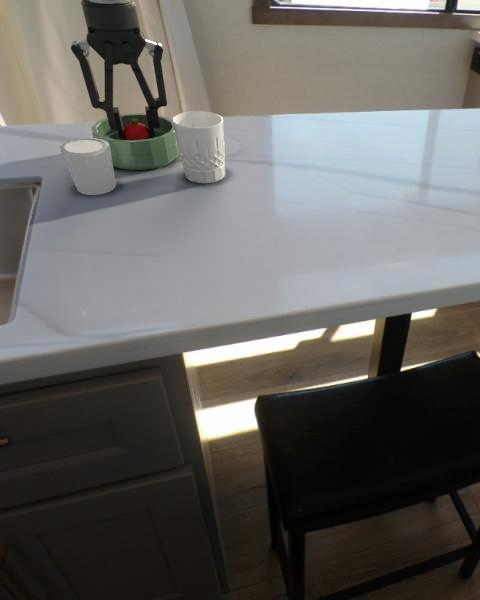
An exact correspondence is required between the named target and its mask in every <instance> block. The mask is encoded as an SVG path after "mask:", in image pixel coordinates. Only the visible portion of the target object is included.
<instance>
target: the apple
mask: <svg viewBox="0 0 480 600" xmlns="http://www.w3.org/2000/svg"><path fill="white" fill-rule="evenodd" d="M131 122H132V123H130V124H128V125H127V126H126V127H125V129H124V137H125V140H145V139H151V136H150V131H149V129H148V128H147V127H146V126H145V125H144V124H142V123H138V120H137V119H131Z"/></svg>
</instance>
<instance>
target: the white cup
mask: <svg viewBox="0 0 480 600" xmlns="http://www.w3.org/2000/svg"><path fill="white" fill-rule="evenodd" d="M171 120H172V122H173V126H174V131H175V135H176V140H177V144H178V149H179V153H180V155H179V157H180V161H181V163H182V166H183V170H184V175H185V178H186V179H187V180H188V181H190V182H193V183H197V184H211V183H216V182H219V181H221V180H223V179H224V178H225V177H226V162H225V161H226V150H225V146H226V145H225V130H224V118H223V117H222V116H221V115H219V114H218V113H215V112H211V111H205V110H192V111H191V110H190V111H184V112H181V113H178V114H176V115H174V116H173V117H172V119H171Z"/></svg>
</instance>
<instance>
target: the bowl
mask: <svg viewBox="0 0 480 600" xmlns="http://www.w3.org/2000/svg"><path fill="white" fill-rule="evenodd" d="M120 116H121V120H122V125H123V129H125V127H126V126H127V125H128V124H130V123H132V122H131V119H137V120H138V123H142V124H144V125H145V126H146V127H147V128H148V129H149V126H148V121H147V116H146V113H142V112H135V113H134V112H133V113H122V114H121V113H120ZM158 116H159V121H160V128H154V131H155V136H156V137H155V138H151V139H145V140H120V138H119V134H118V130H112V129H111V128H110V126H109V122H108V118H107V117H105V118H102V119H100V120H98V121H96V122H95V123H94V124H93V125H92V126H91V133H92V137H93V138H97V139H101V140H105V141H107V142H109V145H110V149H111V156H112V163H113V168H117V169H120V170H129V171H146V170H153V169H157V168H158V169H159V168H161V167H164V166H167V165H169V164H171V163H172V162H173V161H175V160H176V159H178V158H179V157H180V153H179V149H178V144H177V140H176V135H175V131H174V126H173V122H172V119H171V118H170V117H168V116H163V115H159V114H158Z"/></svg>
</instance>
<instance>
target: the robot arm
mask: <svg viewBox="0 0 480 600" xmlns="http://www.w3.org/2000/svg"><path fill="white" fill-rule="evenodd" d="M80 4H81V8H82V13H83V16H84V20H85V24H86V29H87V33H86V36H85V39H82V40H79V41H76V40H74V41H72V43H71V45H70V50H71V52H72V54H73V55H74V56H75V58H76V60H77V61H78V63H79V67H80V70H81V73H82V77H83V81H84V83H85V87H86V91H87V93H88V98H89V101H90V104H91V107H92V108H94V109H96V110H98V109H99V110H103V111H104V112H105V114H106V118H108V122H109V126H110V128H111V129H112V130H118V134H119V138H120V140H125V137H124V129H123V125H122V120H121V116H120V115H121V112H120V107H119V106H114V66H117V65H122V64H123V65H127V66H128V65H129V66H130V68H131V70H132V72H133V74H134V76H135V79H136V81H137V83H138V86H139V88H140V90H141V92H142V95H143V97H144V99H145V101H146V103H147V106H144V109H145V111H144V112H145V114H146V116H147V121H148V126H149V131H150V136H151V138H155V137H156V136H155V131H154V128H160V121H159V116H160V115H159V109H160V108H163V107H165V108H166V107H167V106H168V100H167V99H168V98H167V93H166V86H165V85H166V84H165V79H164V73H163V65H162V59H163V55H164V48H163V44H162V43H161V42H159V41H156V42H154V41H151V40H149V39H146V36H145V35H144V34H143V32H142V30H141V25H140V21H139V16H138V15H139V14H138V10H137V5H136V3H135V2H134V0H81V2H80ZM90 47H91V48H92V50H94V51H95V52H96V54H97V55H98V56H99V57H101V59H102V60H104V65H103V66H104V68H103V69H104V99H102V98H101V97H100V94H99V90H98V87H97V83H96V80H95V76H94V73H93V68H92V65H91V62H90V58H89V55H90ZM145 48H146V49H147V52H148V55H149V56H150V57H152V63H153V69H154V76H155V83H156V89H157V95H158V97H154V94H153V92H152V89H151V87H150V85H149V82H148V80H147V78H146V76H145V75H146V74H145V73H144V71H143V69H142V65H141V63H140V61H139V58H140V57H141V55H142V52H143V51H144V49H145ZM158 115H159V116H158Z"/></svg>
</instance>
